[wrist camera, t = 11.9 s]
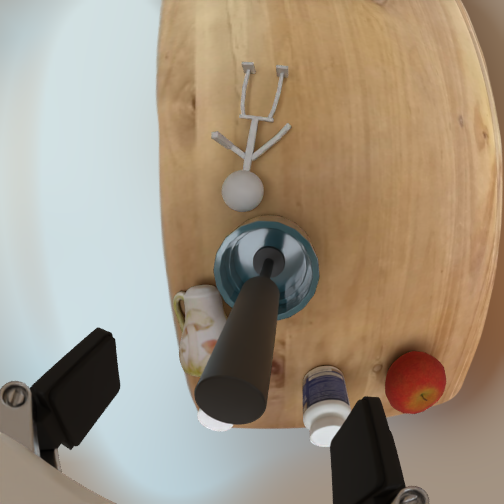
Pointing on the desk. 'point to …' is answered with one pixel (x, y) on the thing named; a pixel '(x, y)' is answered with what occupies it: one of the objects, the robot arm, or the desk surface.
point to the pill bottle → (324, 403)
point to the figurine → (249, 152)
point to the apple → (415, 382)
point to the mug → (199, 326)
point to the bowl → (281, 237)
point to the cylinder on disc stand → (244, 348)
